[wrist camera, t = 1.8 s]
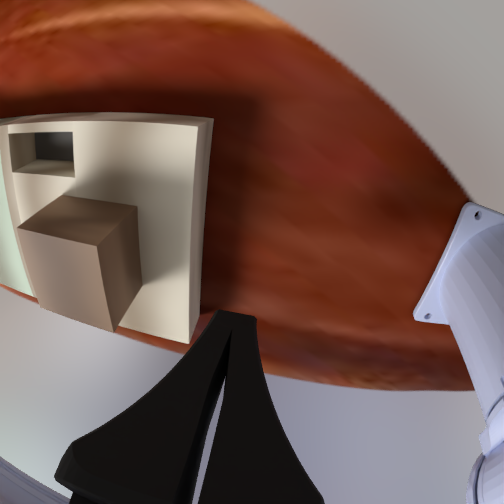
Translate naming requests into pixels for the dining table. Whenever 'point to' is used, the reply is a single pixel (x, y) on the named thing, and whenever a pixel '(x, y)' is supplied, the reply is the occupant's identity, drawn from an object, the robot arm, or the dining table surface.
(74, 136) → the box
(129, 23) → the dining table surface
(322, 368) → the dining table surface
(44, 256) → the walnut block
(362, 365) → the dining table surface
